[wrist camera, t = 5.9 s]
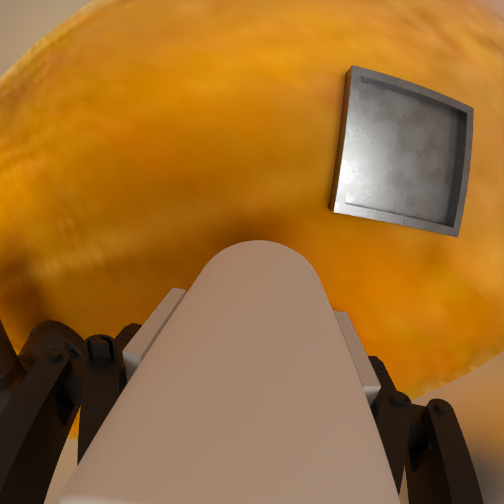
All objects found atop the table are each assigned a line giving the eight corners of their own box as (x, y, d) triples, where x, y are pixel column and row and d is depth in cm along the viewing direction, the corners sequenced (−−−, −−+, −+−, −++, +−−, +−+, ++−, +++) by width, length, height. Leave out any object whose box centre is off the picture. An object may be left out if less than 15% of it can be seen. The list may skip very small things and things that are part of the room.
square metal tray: (328, 208, 32) (333, 212, 30) (345, 73, 28) (352, 65, 25) (445, 232, 32) (457, 237, 29) (460, 111, 28) (473, 108, 25)
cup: (173, 316, 19) (48, 528, 4) (238, 213, 17) (67, 449, 2) (275, 375, 20) (269, 598, 5) (349, 286, 18) (473, 527, 3)
